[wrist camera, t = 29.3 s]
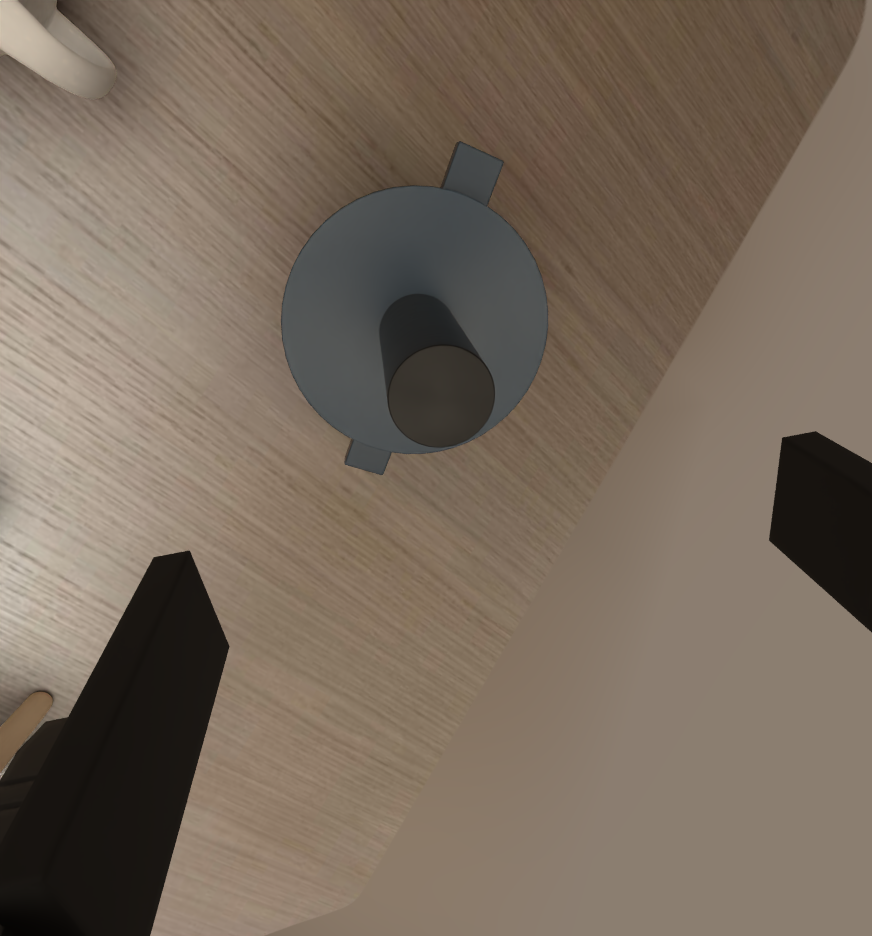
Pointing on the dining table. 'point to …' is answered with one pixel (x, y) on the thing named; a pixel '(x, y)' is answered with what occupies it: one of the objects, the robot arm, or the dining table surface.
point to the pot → (468, 177)
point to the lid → (414, 319)
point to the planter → (22, 725)
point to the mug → (54, 48)
